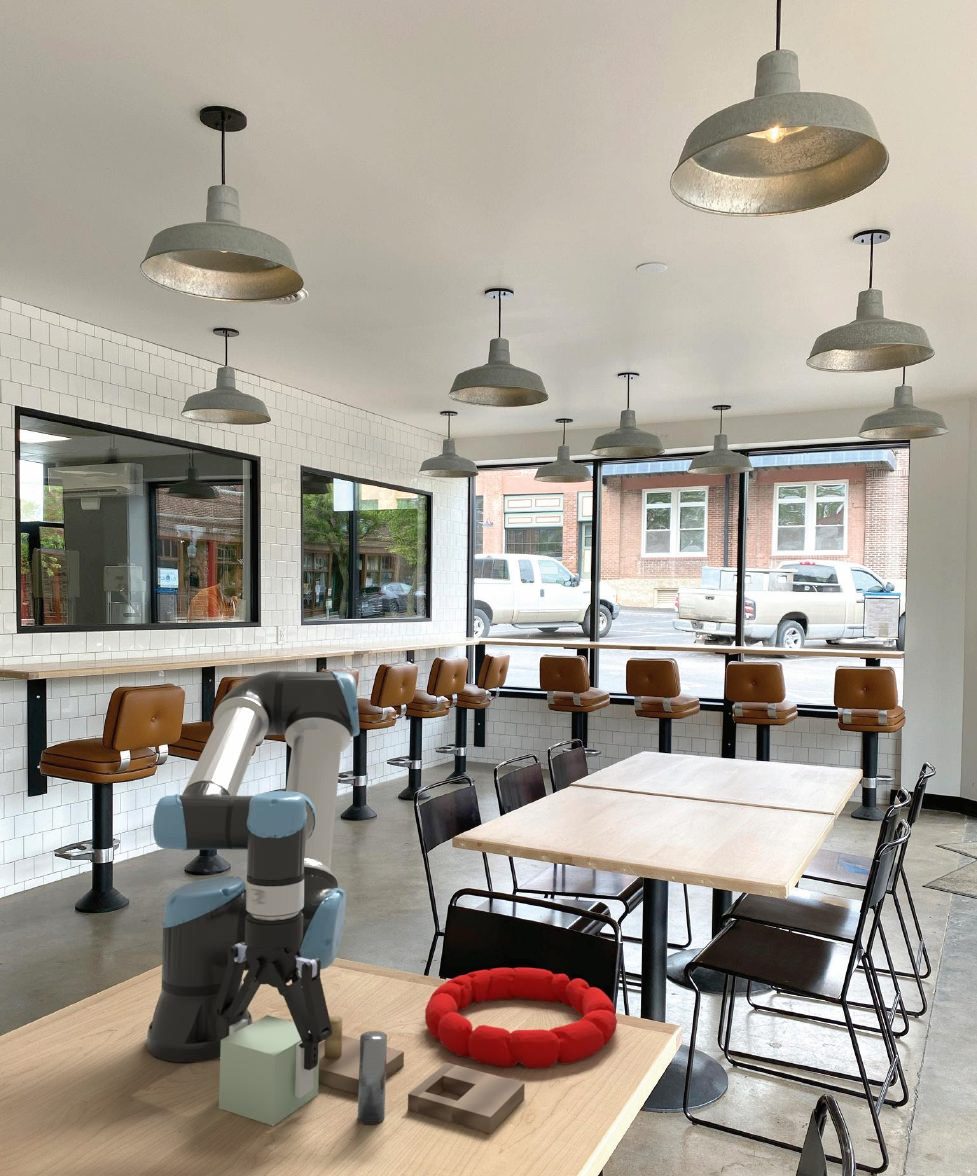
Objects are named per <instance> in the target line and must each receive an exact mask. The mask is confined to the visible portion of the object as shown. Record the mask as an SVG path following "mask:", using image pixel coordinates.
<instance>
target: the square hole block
mask: <svg viewBox="0 0 977 1176" xmlns="http://www.w3.org/2000/svg"><path fill="white" fill-rule="evenodd" d="M525 1088H526V1087H525V1082H522V1081H519V1080H514V1079H511V1078H507V1077H503V1076H498V1075H496V1074H493V1073H489V1072H488V1073H487V1072H484V1071H480V1070H476V1069H473V1068H468V1067H465V1066H461V1065H457V1064H453V1063H450V1062H445V1063H444V1064H443V1065H441V1066H440V1067H439V1068H438V1069H436V1071H434V1072H433V1073H432V1074H430V1075H429V1076H428V1077H426V1078H425V1079H424V1080H423V1081H422V1082H420V1084H419V1085H417V1086H416V1087H414V1088H413V1089H412V1090H411V1091H410V1092H408V1094H407V1096H408V1097H407V1110H409V1111H411V1112H414V1113H415V1112H416V1113H418V1114H422V1115H424V1116H425V1115H426V1116H428V1117H432V1118H434V1119H435V1118H436V1119H439V1120H441V1121H442V1120H443V1121H445V1122H449V1123H453V1124H456V1125H458V1126H463V1127H466V1128H469V1129H472V1130H476V1131H479V1132H483V1133H486V1134H491V1133H493V1131H494V1130H496V1128H498V1127H499V1125H500V1124H501V1123H502V1122H503V1121H504V1120H505V1119H506V1118H507V1117H508V1116H509V1115H511V1113H512V1111H514V1110H515V1109H516V1108H517V1106H518V1105H520V1103H522V1101H523V1100H524V1099H525ZM442 1092H446V1093H449V1094H450V1093H451V1094H453V1095H457V1096H460V1098H459V1099H458V1100H455V1099H452V1098H449V1097H445V1096H442V1095H440V1094H441V1093H442Z"/></svg>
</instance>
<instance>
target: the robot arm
mask: <svg viewBox="0 0 977 1176" xmlns="http://www.w3.org/2000/svg"><path fill="white" fill-rule="evenodd" d="M357 693H358V691H357V681H356V678H355V676H354V675H352V674H351V673H350V672H336V671H334V670H330V671H329V672H323V671H322V672H320V671H319V672H317V671H313V672H312V671H280V670H272V671H266V672H262V673H259V674H255V675H253V676H252V677H249V678H247V679H245V680H244V681H242V682H241V683H239V684H238V685H236V686H235V687H233V688H231V690H230V691H229V692H227V693H226V694H225V696H224V697H223V698H222V699H221V700H220V702H219V703H218V705H217V707H216V709H215V711H214V713H213V714H214V715H213V718H212V723H213V729H212V731H211V733H210V736H209V737H208V739H207V742H206V743H205V746H204V749H203V750H202V753H201V754H200V756H199V758H198V760H197V763H196V764H195V767H194V768H193V771H192V773H191V775H190V776H189V777H190V778H189V779H188V782H187V783H186V786H185V788H184V790H183V792H182V794H179V793H175V794H174V795H165V796H162V797H161V798H160V799H159V800H158V801H157V804H156V807H155V809H154V815H153V821H152V822H153V824H152V825H153V826H152V831H153V839H154V841H155V843H156V845H157V846H158V847H159V848H161V849H165V850H181V851H183V852H184V851H185V852H186V851H199V850H201V851H204V850H205V851H206V850H208V851H209V850H210V851H211V850H213V851H214V850H215V851H216V850H237V851H239V850H241V851H242V850H243V851H245V850H246V851H247V857H246V858H247V860H246V861H247V863H246V865H247V867H246V871H247V872H246V883H245V880H244V879H243V878H242V877H240V876H234V875H233V876H232V875H231V876H229V875H228V876H225V875H224V876H215V877H210V878H203V879H200V880H196V881H192V882H190V883H186V884H184V885H182V886H179V887H178V888H176V889H174V890H173V891H171V892H170V893H169V894H168V896H167V897H166V899H165V903H164V911H163V912H164V913H163V921H162V923H161V925H162V950H161V951H162V954H161V955H162V956H161V958H162V959H161V989H160V990H161V991H160V995H159V997H158V1000H157V1003H156V1005H155V1009H154V1013H153V1016H152V1020H151V1022H150V1024H149V1025H148V1029H147V1034H146V1035H147V1039H146V1040H147V1041H146V1048H147V1051H148V1052H149V1053H150V1054H151V1055H152V1056H154V1057H156V1058H158V1059H159V1060H163V1061H168V1062H173V1063H198V1062H199V1063H200V1062H207V1061H212V1060H217V1059H220V1051H221V1040H222V1039H224V1038H226V1037H227V1036H229V1035H231V1034H233V1033H235V1032H237V1031H239V1030H241V1029H242V1028H244V1027H246V1026H248V1025H250V1024H252V1023H254V1021H253V1017H252V1015H251V1013H250V1011H249V1009H248V1007H250V1004H251V1003H252V1000H253V999H254V997H255V995H256V994H257V991H258V990H259V988H260V987H261V985H269V986H270V987H272V988H276V989H277V992H278V994H279V995H280V996H282V997H283V998H284V1001H285V1003H286V1006H287V1008H288V1011H289V1014H290V1016H291V1018H292V1022H294V1023H295V1026H296V1028H297V1031H298V1033H299V1036H300V1038H301V1042H300V1043H298V1044H297V1045H296V1082H295V1097H298V1098H301V1097H302V1096H304V1095H305V1094H306V1093H308V1092H309V1091H311V1090H312V1089H313V1072H314V1067H316V1066H317V1064H318V1044H320V1043H321V1042H323V1041H325V1039H327V1038H328V1037H330V1036H331V1035H332V1028H331V1023H330V1019H329V1017H330V1016H329V1011H328V1006H327V1005H328V1004H327V1001H326V997H325V993H324V988H323V983H322V979H321V970H325V969H327V968H329V967H330V966H331V965H333V963H334V961H335V959H337V955H338V953H339V949H340V945H341V941H342V936H343V933H344V927H345V916H346V910H347V893H346V891H345V890H344V889H343V888H341V887H339V880H338V877H337V876H336V875H335V874H334V872H332V871H331V863H332V852H333V840H334V839H333V838H334V828H335V818H336V807H337V798H338V797H337V796H338V785H339V775H340V763H341V754H342V753H341V752H344V751H345V750H347V748H348V747H349V745H350V743H351V739H352V737H353V738H354V737H357V736H359V735H360V719H359V707H358V694H357ZM272 735H274V736H276V735H277V736H284V740H285V742H286V744H287V745H288V746H289V747H290V748H291V751H290V758H289V759H290V761H289V767H288V774H287V782H286V788H285V789H286V790H284V791H283V790H277V791H276V790H275V791H266V792H265V791H264V792H261V793H256V794H255V795H238V792H239V790H240V787H241V785H242V782H243V780H244V779H243V778H244V777H245V774H246V771H247V768H248V766H249V763H250V761H251V759H252V755H253V753H254V752H255V748H256V745H257V743H259V742H260V741H262V740H263V739H264V737H265V736H272ZM245 971H246V974H245V976H244V977H243V975H244V972H245ZM290 981H291V983H290ZM288 983H290V984H288ZM309 1031H310V1033H309Z"/></svg>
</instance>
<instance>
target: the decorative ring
mask: <svg viewBox="0 0 977 1176" xmlns="http://www.w3.org/2000/svg"><path fill="white" fill-rule="evenodd" d="M518 998H519V999H525V1000H530V1001H539V1002H545V1003H551V1004H552V1003H555V1004H556V1003H559V1002H561V1003H562V1004H563V1005H566V1006H569V1007H572V1009H573V1010H574V1011H576V1013H578V1014H580V1016H581V1017H582V1018H580V1019H579V1020H578V1021H574V1022H571V1023H567V1024H565V1025H560V1026H556V1027H554V1028H550V1029H549V1030H547V1029H516V1030H512V1031H509V1030H507V1029H505V1028H503V1027H496V1026H495V1027H494V1026H492V1025H487V1024H480V1025H478V1026H477V1027H475V1028H474V1027H473V1024H472V1023H471V1021H470V1020H469V1019H467V1018H466V1017H465V1016H463V1015H461V1014H460V1013H458V1011H462V1010H465V1009H466V1008H467V1007H468V1006H470V1005H471V1004H473V1003H475V1004H481V1003H483V1002H484V1001H485V1002H491V1001H493V1002H494V1001H500V1000H502V1001H503V1000H513V999H518ZM424 1012H425V1013H424V1017H425V1018H424V1019H425V1024H426V1027H427V1030H428V1031H429V1033H430V1034H431V1036H432V1037H433V1038H434V1039H436V1040H437V1041H438V1042H441V1043H442V1045H443V1046H444V1047H445V1049H447V1050H448V1051H450V1052H451V1053H453V1054H454V1055H456V1056H459V1057H462V1058H472V1059H473V1060H474V1061H476V1062H477V1063H480V1064H484V1065H487V1066H494V1067H500V1068H512V1067H514V1066H516V1065H517V1063H520V1064H521V1065H522V1066H524V1067H525V1068H527V1069H545V1068H546V1069H547V1068H550V1067H552V1066H554V1065H555V1064H556V1063H560V1064H564V1065H569V1064H572V1063H577V1062H579V1061H582V1060H584V1059H587V1058H589V1057H591V1056H593V1055H595V1054H597V1053H598V1052H599V1051H601V1050H603V1048H604V1046H606V1045H607V1044H609V1043H610V1041H611V1040H612V1038H613V1036H614V1035H615V1033H616V1029H617V1023H618V1020H617V1017H616V1008H615V1006H614V1004H613V1002H612V1000H611V999H610V998H609V996H608V995H607V994H606V993H605V991H602V989H600V988H598V987H590V985H589V983H588V982H587V981H586V980H585V979H582V978H574V979H572V980H570V978H569V976H568V975H566V974H565V973H555V974H554V973H553V972H552V971H550V970H547V969H545V968H544V969H542V968H535V967H514V968H513V967H512V968H511V967H496V968H490V969H482V970H476V971H471V972H468V973H467V974H463V975H458V976H456V977H453V978H450V979H449V980H448V981H446V982H445V983H443V984H441V985H439V987H438V988H436V989H435V990H434V992H433V993H432V994H431V996H430V998H429V1001H428V1002H427V1004H426V1007H425V1010H424ZM473 1028H474V1029H473Z"/></svg>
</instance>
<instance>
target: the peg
mask: <svg viewBox="0 0 977 1176" xmlns="http://www.w3.org/2000/svg"><path fill="white" fill-rule="evenodd" d="M359 1038H360V1039H359V1040H360V1062H359V1091H358V1095H357V1096H358V1097H357V1120H358V1122H359V1123H361V1124H364V1125H376V1124H380V1123H381V1122H383V1121H384V1119H385V1113H386V1111H385V1110H386V1108H385V1107H386V1103H385V1102H386V1080H387V1079H386V1053H387V1047H388V1035H387V1033H385V1032H383V1031H379V1030H378V1031H377V1030H373V1031H371V1030H370V1031H365V1032H363V1033H362V1034H360V1037H359Z"/></svg>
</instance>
